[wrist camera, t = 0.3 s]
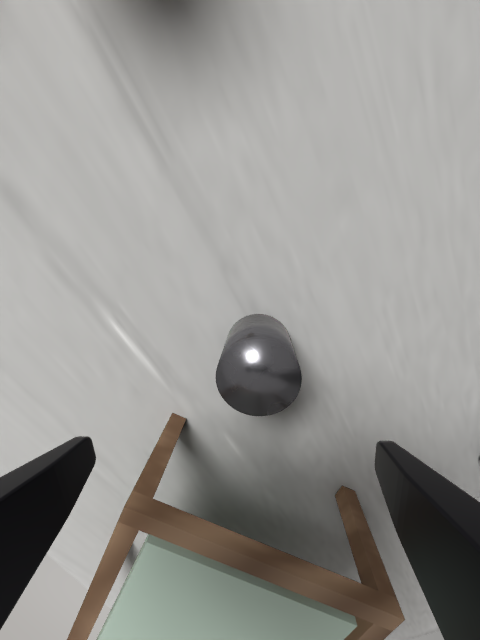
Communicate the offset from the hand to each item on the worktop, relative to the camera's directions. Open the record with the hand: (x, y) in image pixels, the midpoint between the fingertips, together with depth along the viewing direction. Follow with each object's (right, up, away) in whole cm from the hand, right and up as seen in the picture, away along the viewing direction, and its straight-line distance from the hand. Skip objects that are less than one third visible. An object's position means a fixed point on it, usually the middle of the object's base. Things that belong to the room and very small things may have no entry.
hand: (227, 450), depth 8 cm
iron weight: (+2, +2, +12) cm, 13 cm away
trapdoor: (-2, -18, +10) cm, 21 cm away
